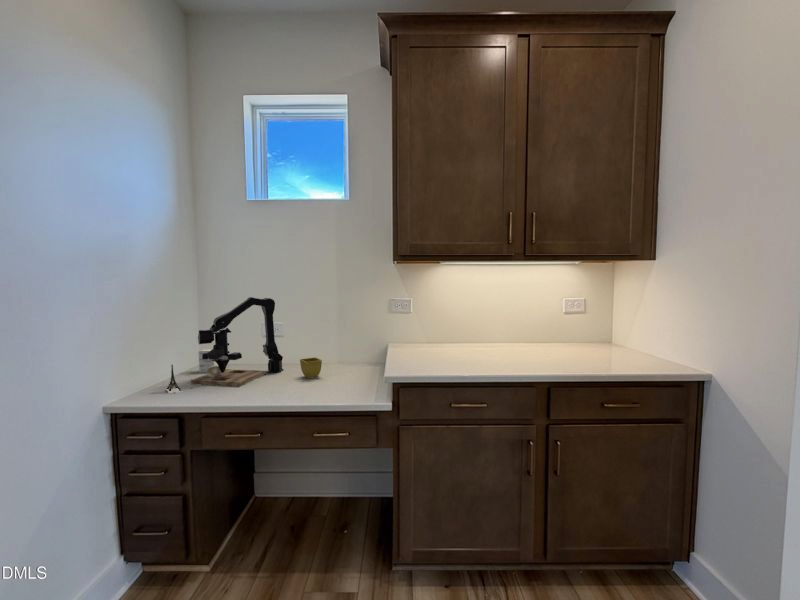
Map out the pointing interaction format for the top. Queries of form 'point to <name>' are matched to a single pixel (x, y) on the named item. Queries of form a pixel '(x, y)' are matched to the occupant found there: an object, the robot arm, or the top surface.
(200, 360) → the ink box
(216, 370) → the maple block
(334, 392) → the top surface
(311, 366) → the flower pot
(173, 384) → the eiffel tower figurine
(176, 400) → the top surface
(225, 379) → the board
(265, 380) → the top surface
